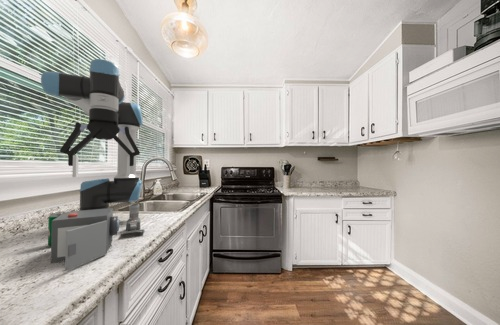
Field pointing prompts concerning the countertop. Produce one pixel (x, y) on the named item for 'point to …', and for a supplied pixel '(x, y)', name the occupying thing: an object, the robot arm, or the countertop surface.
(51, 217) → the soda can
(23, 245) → the countertop surface
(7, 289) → the countertop surface
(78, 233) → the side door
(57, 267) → the countertop surface
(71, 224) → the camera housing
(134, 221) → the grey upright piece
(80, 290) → the countertop surface
